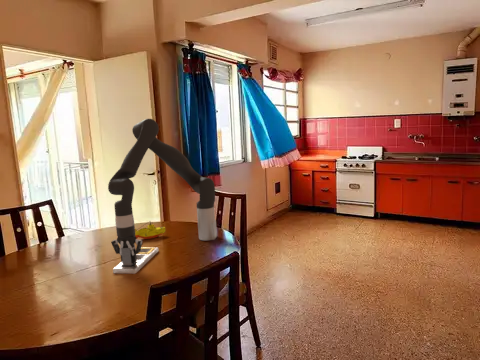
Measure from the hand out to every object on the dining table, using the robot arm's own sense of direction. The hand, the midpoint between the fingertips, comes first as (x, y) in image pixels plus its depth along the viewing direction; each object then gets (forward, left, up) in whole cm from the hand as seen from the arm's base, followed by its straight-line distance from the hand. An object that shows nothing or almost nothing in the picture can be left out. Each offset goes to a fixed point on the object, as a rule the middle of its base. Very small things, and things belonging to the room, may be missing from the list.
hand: (129, 262), depth 151 cm
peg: (0, 0, -3) cm, 3 cm away
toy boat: (+8, -41, -3) cm, 42 cm away
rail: (0, -8, -3) cm, 8 cm away
